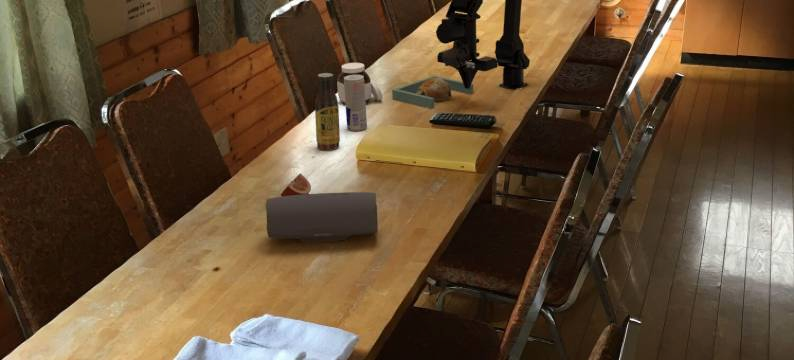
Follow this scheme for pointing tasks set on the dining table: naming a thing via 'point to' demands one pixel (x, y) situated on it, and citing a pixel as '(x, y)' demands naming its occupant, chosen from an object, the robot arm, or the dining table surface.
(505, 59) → the robot arm
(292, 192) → the fruit slice
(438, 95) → the bread roll
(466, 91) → the teal u-shaped frame
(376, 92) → the spread jar
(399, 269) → the dining table surface
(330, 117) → the sauce bottle
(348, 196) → the bluetooth speaker
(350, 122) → the beverage can
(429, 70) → the dining table surface
